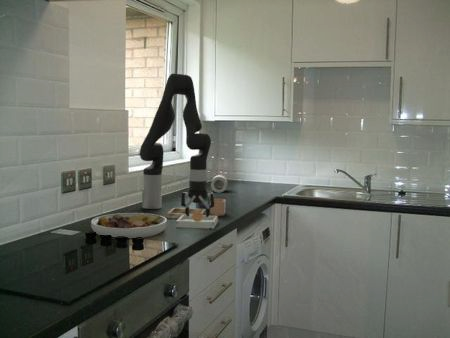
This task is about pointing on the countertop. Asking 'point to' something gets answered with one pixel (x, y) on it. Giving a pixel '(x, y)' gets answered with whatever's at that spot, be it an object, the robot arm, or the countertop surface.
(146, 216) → the bowl
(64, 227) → the countertop surface
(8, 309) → the countertop surface
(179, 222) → the tray
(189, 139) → the robot arm
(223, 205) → the cup
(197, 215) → the ball
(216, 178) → the toilet paper
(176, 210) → the corral
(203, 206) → the flask
